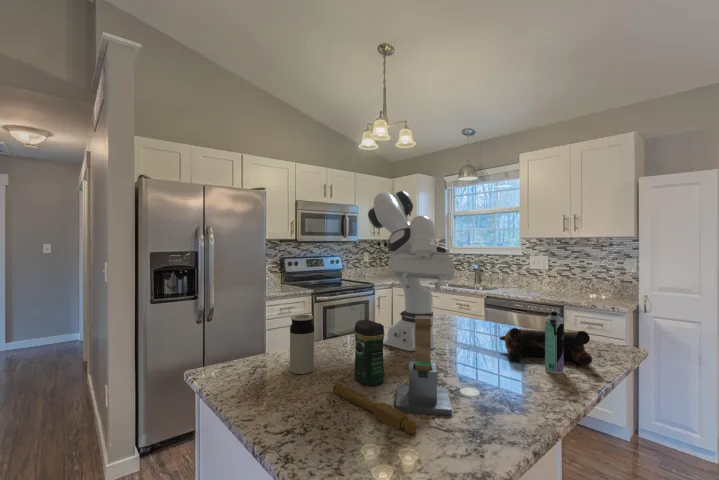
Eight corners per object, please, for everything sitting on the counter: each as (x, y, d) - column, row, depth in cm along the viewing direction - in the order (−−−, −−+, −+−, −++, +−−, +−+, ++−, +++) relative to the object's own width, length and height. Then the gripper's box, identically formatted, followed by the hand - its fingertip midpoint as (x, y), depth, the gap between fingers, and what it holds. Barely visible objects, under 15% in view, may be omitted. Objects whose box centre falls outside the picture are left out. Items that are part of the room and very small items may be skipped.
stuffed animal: (598, 327, 124) (576, 320, 148) (501, 328, 133) (495, 322, 156) (603, 366, 123) (580, 353, 147) (505, 365, 131) (498, 353, 155)
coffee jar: (388, 383, 112) (388, 322, 112) (366, 388, 107) (367, 325, 107) (371, 373, 120) (371, 316, 120) (350, 377, 116) (350, 319, 116)
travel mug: (318, 368, 124) (318, 315, 124) (305, 376, 117) (305, 320, 117) (298, 365, 127) (298, 313, 127) (284, 372, 120) (285, 317, 120)
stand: (397, 389, 107) (397, 357, 107) (446, 392, 105) (446, 359, 105) (395, 411, 93) (395, 374, 93) (451, 415, 91) (451, 377, 91)
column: (414, 369, 101) (415, 315, 101) (429, 370, 101) (430, 315, 101) (414, 375, 97) (415, 318, 97) (430, 376, 97) (430, 318, 96)
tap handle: (340, 381, 106) (419, 420, 83) (340, 391, 106) (419, 433, 83) (331, 383, 104) (410, 424, 81) (332, 394, 104) (410, 438, 81)
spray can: (565, 374, 119) (566, 313, 119) (547, 373, 120) (548, 312, 120) (560, 368, 124) (560, 310, 124) (542, 367, 126) (543, 309, 126)
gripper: (392, 246, 123) (389, 280, 114) (454, 249, 121) (456, 284, 112) (392, 258, 128) (389, 291, 119) (451, 261, 125) (453, 295, 116)
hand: (422, 287), depth 115 cm, fingers open, 8 cm apart
